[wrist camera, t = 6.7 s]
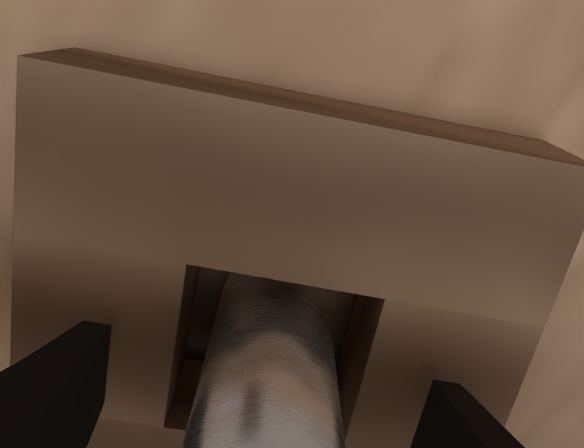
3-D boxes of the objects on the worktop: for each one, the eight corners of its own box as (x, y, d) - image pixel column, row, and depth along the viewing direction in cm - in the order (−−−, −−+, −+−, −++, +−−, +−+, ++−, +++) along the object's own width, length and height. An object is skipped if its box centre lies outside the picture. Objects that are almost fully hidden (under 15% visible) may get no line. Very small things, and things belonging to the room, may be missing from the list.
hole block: (419, 494, 18) (442, 580, 16) (52, 437, 18) (6, 517, 15) (545, 140, 14) (606, 171, 12) (74, 47, 14) (17, 55, 11)
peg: (310, 354, 17) (328, 705, 8) (211, 331, 16) (124, 667, 8) (340, 265, 16) (395, 559, 7) (235, 239, 15) (164, 512, 7)
